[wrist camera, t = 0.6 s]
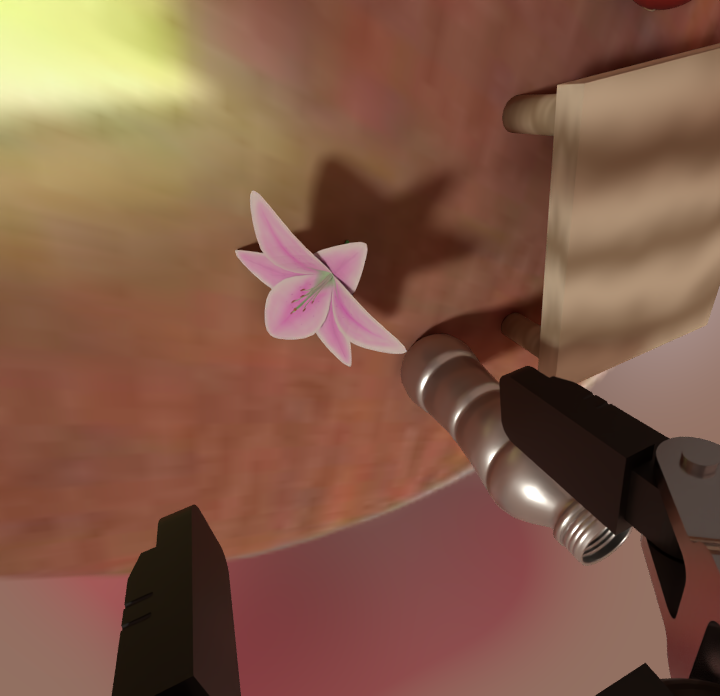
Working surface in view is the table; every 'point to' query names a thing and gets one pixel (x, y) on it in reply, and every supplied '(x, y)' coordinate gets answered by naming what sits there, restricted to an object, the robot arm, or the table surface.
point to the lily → (312, 288)
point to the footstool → (626, 211)
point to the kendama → (660, 4)
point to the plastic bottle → (498, 445)
